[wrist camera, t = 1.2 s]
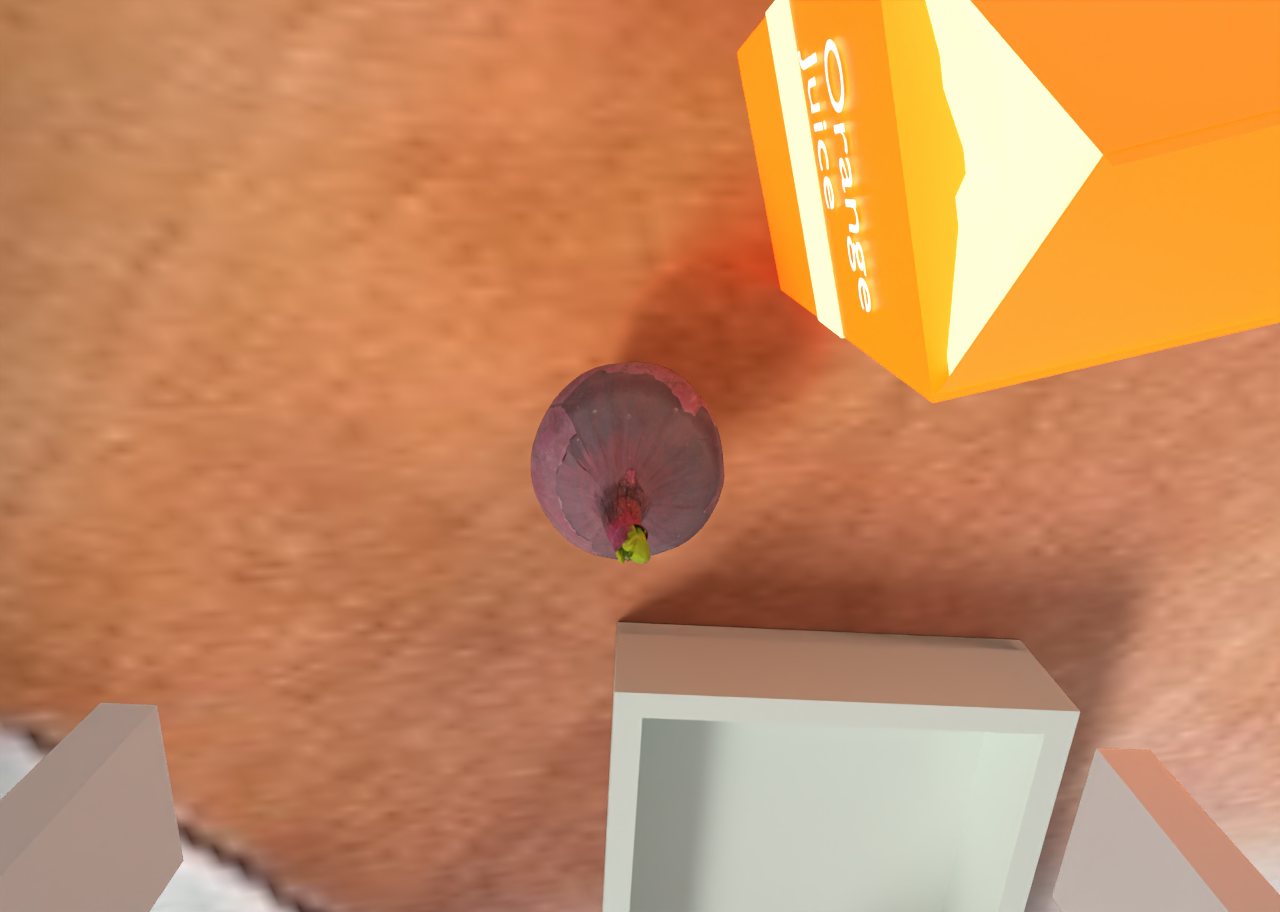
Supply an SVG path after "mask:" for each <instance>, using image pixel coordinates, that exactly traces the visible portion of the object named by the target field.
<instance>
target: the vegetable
mask: <svg viewBox="0 0 1280 912" xmlns="http://www.w3.org/2000/svg"><path fill="white" fill-rule="evenodd" d="M531 477H532V483H533V488H534V491H535V494H536V497H537V499H538V501H539V504H540V506H541V508H542V510H543V511H544V513H545V515H546V516H547V517H548V519H549V520H550V522H551V523H552V524H553V526H554V527H555V528H556V529H557V531H558V532H559V533H560V534H561V535H562V536H563V537H564V538H565V539H567V540H568V541H569V542H570V543H572V544H574V545H575V546H577V547H579V548H580V549H582V550H584V551H586V552H588V553H591V554H594V555H597V556H602V557H606V558H612V559H618V560H619V561H620V562H621V563H624V561H625V560H627V561H629V560H632V561H634V562H637V563H646V562H647V561H649V559H650V555H655V554H658V553H661V552H664V551H667V550H670V549H673V548H675V547H678V546H680V545H681V544H683V543H685V542H686V541H688V540H689V539H691V538H692V537H693V536H694V535H695V534H696V533H697V532H698V531H699V530H700V529H701V528H702V527H703V526H704V524H705V523H706V522H707V520H708V519H709V517H710V515H711V514H712V512H713V510H714V508H715V506H716V504H717V502H718V500H719V497H720V494H721V490H722V487H723V483H724V466H723V453H722V446H721V440H720V436H719V433H718V429H717V426H716V423H715V421H714V418H713V415H712V413H711V412H710V410H709V408H708V407H707V405H706V403H705V402H704V400H703V399H702V397H701V396H700V395H699V394H698V392H697V391H696V390H695V388H694V387H693V386H692V385H691V384H690V383H689V382H688V381H686V380H685V379H684V378H683V377H681V376H680V375H678V374H677V373H675V372H673V371H671V370H669V369H668V368H666V367H663V366H660V365H656V364H651V363H646V362H634V361H633V362H627V363H620V364H610V365H604V366H600V367H596V368H594V369H592V370H590V371H587V372H585V373H583V374H581V375H580V376H579V377H577V378H576V379H575V380H573V381H572V382H571V383H570V384H569V385H568V386H567V387H566V388H564V389H563V390H562V391H561V393H560V394H559V395H558V396H557V397H556V398H555V399H554V401H553V402H552V404H551V406H550V407H549V409H548V411H547V412H546V414H545V416H544V417H543V420H542V422H541V424H540V426H539V428H538V431H537V434H536V437H535V440H534V444H533V448H532V455H531Z"/></svg>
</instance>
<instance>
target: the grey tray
mask: <svg viewBox="0 0 1280 912" xmlns="http://www.w3.org/2000/svg"><path fill="white" fill-rule="evenodd" d="M1079 715H1080V711H1079V709H1078V708H1077V707H1076V706H1075V705H1074V703H1073V702H1072V701H1071V700H1070V699H1069V697H1068V696H1067V695H1066V694H1065V693H1064V692H1063V690H1062V689H1061V688H1060V687H1059V686H1058V684H1057V683H1056V682H1055V681H1054V680H1053V678H1052V677H1051V676H1050V675H1049V674H1048V672H1047V671H1046V670H1045V669H1044V668H1043V667H1042V665H1041V664H1040V663H1039V662H1038V661H1037V659H1036V658H1035V657H1034V656H1033V655H1032V653H1031V652H1030V651H1029V650H1028V649H1027V648H1026V646H1025V645H1024V644H1023V643H1022V642H1021V640H1011V639H988V638H966V637H943V636H920V635H898V634H875V633H852V632H830V631H807V630H784V629H762V628H739V627H716V626H694V625H671V624H648V623H626V622H617V635H616V654H615V673H614V693H613V712H612V731H611V750H610V770H609V789H608V808H607V827H606V847H605V866H604V885H603V905H602V912H1024V910H1025V906H1026V903H1027V899H1028V896H1029V892H1030V889H1031V885H1032V881H1033V878H1034V874H1035V871H1036V867H1037V864H1038V860H1039V857H1040V853H1041V850H1042V846H1043V842H1044V839H1045V835H1046V832H1047V828H1048V825H1049V821H1050V818H1051V814H1052V811H1053V807H1054V803H1055V800H1056V796H1057V793H1058V789H1059V786H1060V782H1061V779H1062V775H1063V771H1064V768H1065V764H1066V761H1067V757H1068V754H1069V750H1070V747H1071V743H1072V740H1073V736H1074V732H1075V729H1076V725H1077V722H1078V718H1079Z"/></svg>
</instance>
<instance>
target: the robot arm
mask: <svg viewBox="0 0 1280 912" xmlns="http://www.w3.org/2000/svg"><path fill="white" fill-rule="evenodd" d="M182 862H183V855H182V849H181V843H180V838H179V832H178V826H177V820H176V814H175V808H174V802H173V797H172V791H171V785H170V779H169V773H168V767H167V762H166V756H165V750H164V744H163V738H162V732H161V727H160V721H159V715H158V709H157V705H140V704H117V703H100V704H99V705H98V706H97V707H96V708H95V709H94V710H93V711H92V712H91V713H90V714H89V715H87V716H86V717H85V718H84V719H83V720H82V721H81V722H80V723H79V724H78V725H77V726H76V727H75V728H74V729H73V730H72V731H71V732H70V733H69V734H68V735H67V736H66V737H65V738H64V739H63V740H62V741H61V742H60V743H59V744H58V745H57V746H56V747H55V748H54V749H53V750H52V751H51V752H50V753H49V754H47V755H46V756H45V757H44V758H43V759H42V760H41V761H40V762H39V763H38V764H37V765H36V766H35V767H34V768H33V769H32V770H31V771H30V772H29V773H28V774H27V775H26V776H25V777H24V778H23V779H22V780H21V781H20V782H19V783H18V784H17V785H16V786H15V787H14V788H13V789H12V790H11V791H10V792H9V793H7V794H6V795H5V796H4V797H3V798H2V799H1V800H0V912H149V911H150V910H151V908H152V907H153V905H154V904H155V902H156V901H157V899H158V898H159V896H160V895H161V893H162V892H163V890H164V889H165V887H166V886H167V884H168V883H169V881H170V880H171V878H172V877H173V875H174V874H175V872H176V871H177V869H178V868H179V866H180V865H181V863H182ZM1052 897H1053V899H1054V900H1055V902H1056V904H1057V906H1058V907H1059V909H1060V911H1061V912H1280V895H1279V894H1278V893H1277V892H1276V890H1275V889H1274V888H1273V887H1272V886H1271V885H1270V884H1269V883H1268V881H1267V880H1266V879H1265V878H1264V877H1263V876H1262V875H1261V874H1260V873H1259V871H1258V870H1257V869H1256V868H1255V867H1254V866H1253V865H1252V864H1251V863H1250V861H1249V860H1248V859H1247V858H1246V857H1245V856H1244V855H1243V854H1242V852H1241V851H1240V850H1239V849H1238V848H1237V847H1236V846H1235V845H1234V844H1233V842H1232V841H1231V840H1230V839H1229V838H1228V837H1227V836H1226V835H1225V834H1224V832H1223V831H1222V830H1221V829H1220V828H1219V827H1218V826H1217V825H1216V823H1215V822H1214V821H1213V820H1212V819H1211V818H1210V817H1209V816H1208V815H1207V813H1206V812H1205V811H1204V810H1203V809H1202V808H1201V807H1200V806H1199V805H1198V803H1197V802H1196V801H1195V800H1194V799H1193V798H1192V797H1191V796H1190V794H1189V793H1188V792H1187V791H1186V790H1185V789H1184V788H1183V787H1182V786H1181V784H1180V783H1179V782H1178V781H1177V780H1176V779H1175V778H1174V777H1173V776H1172V774H1171V773H1170V772H1169V771H1168V770H1167V769H1166V768H1165V767H1164V765H1163V764H1162V763H1161V762H1160V761H1159V760H1158V759H1157V758H1156V757H1155V755H1154V754H1153V753H1152V752H1151V751H1150V750H1136V749H1114V748H1096V751H1095V754H1094V757H1093V761H1092V764H1091V767H1090V771H1089V774H1088V777H1087V781H1086V784H1085V787H1084V791H1083V794H1082V798H1081V801H1080V804H1079V808H1078V811H1077V814H1076V818H1075V821H1074V824H1073V828H1072V831H1071V834H1070V838H1069V841H1068V844H1067V848H1066V851H1065V855H1064V858H1063V861H1062V865H1061V868H1060V871H1059V875H1058V878H1057V881H1056V885H1055V888H1054V891H1053V895H1052Z"/></svg>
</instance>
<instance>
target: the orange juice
mask: <svg viewBox="0 0 1280 912" xmlns="http://www.w3.org/2000/svg"><path fill="white" fill-rule="evenodd" d="M737 56H738V61H739V67H740V72H741V78H742V83H743V88H744V94H745V99H746V105H747V110H748V115H749V121H750V126H751V132H752V137H753V142H754V148H755V153H756V159H757V164H758V169H759V175H760V180H761V186H762V191H763V196H764V202H765V207H766V213H767V218H768V223H769V229H770V234H771V240H772V245H773V250H774V256H775V261H776V267H777V272H778V278H779V283H780V288H781V290H782V291H783V292H785V293H786V294H787V295H789V296H790V297H791V298H793V299H794V300H795V301H797V302H798V303H799V304H801V305H802V306H803V307H805V308H806V309H807V310H809V311H810V312H811V313H813V314H814V315H815V316H817V317H818V321H820V322H821V323H822V324H824V325H825V326H826V327H828V328H829V329H830V330H832V331H833V332H834V333H835V334H837V335H838V336H839V337H841V338H846V339H847V340H849V341H850V342H851V343H853V344H854V345H855V346H857V347H858V348H859V349H861V350H862V351H864V352H865V353H866V354H868V355H869V356H870V357H872V358H873V359H874V360H876V361H877V362H878V363H880V364H881V365H882V366H884V367H885V368H886V369H888V370H889V371H890V372H892V373H893V374H894V375H896V376H897V377H898V378H900V379H901V380H902V381H904V382H905V383H906V384H908V385H909V386H910V387H912V388H913V389H914V390H916V391H917V392H918V393H920V394H921V395H922V396H924V397H925V398H926V399H928V400H929V401H930V402H932V403H936V402H940V401H945V400H949V399H953V398H957V397H962V396H966V395H970V394H975V393H979V392H983V391H988V390H992V389H996V388H1000V387H1005V386H1009V385H1013V384H1018V383H1022V382H1026V381H1030V380H1035V379H1039V378H1043V377H1048V376H1052V375H1056V374H1060V373H1065V372H1069V371H1073V370H1078V369H1082V368H1086V367H1090V366H1095V365H1099V364H1103V363H1108V362H1112V361H1116V360H1120V359H1125V358H1129V357H1133V356H1138V355H1142V354H1146V353H1150V352H1155V351H1159V350H1163V349H1168V348H1172V347H1176V346H1181V345H1185V344H1189V343H1193V342H1198V341H1202V340H1206V339H1211V338H1215V337H1219V336H1223V335H1228V334H1232V333H1236V332H1241V331H1245V330H1249V329H1253V328H1258V327H1262V326H1266V325H1271V324H1275V323H1279V322H1280V0H775V1H774V2H773V4H772V5H771V6H770V7H769V9H768V10H767V11H766V16H765V18H764V19H763V20H762V21H761V23H760V24H759V25H758V26H757V28H756V29H755V30H754V31H753V33H752V34H751V35H750V36H749V38H748V39H747V40H746V41H745V43H744V44H743V45H742V46H741V48H740V49H739V50H738V51H737Z"/></svg>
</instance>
